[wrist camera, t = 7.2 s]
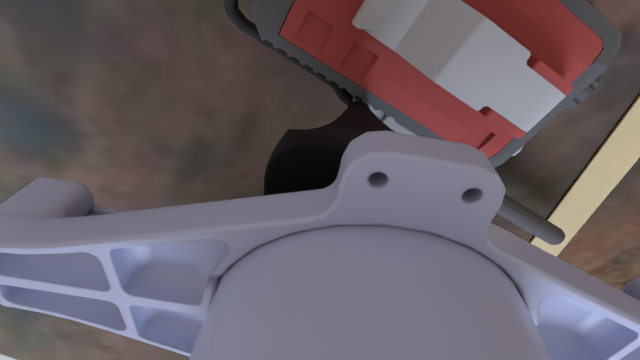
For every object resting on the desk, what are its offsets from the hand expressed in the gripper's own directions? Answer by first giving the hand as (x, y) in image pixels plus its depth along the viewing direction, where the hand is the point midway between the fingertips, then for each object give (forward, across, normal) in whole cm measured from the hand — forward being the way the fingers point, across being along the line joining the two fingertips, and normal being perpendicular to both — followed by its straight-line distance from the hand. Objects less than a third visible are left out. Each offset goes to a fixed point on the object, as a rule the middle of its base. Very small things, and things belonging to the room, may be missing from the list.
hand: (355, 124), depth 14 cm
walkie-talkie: (+2, -4, -2) cm, 5 cm away
